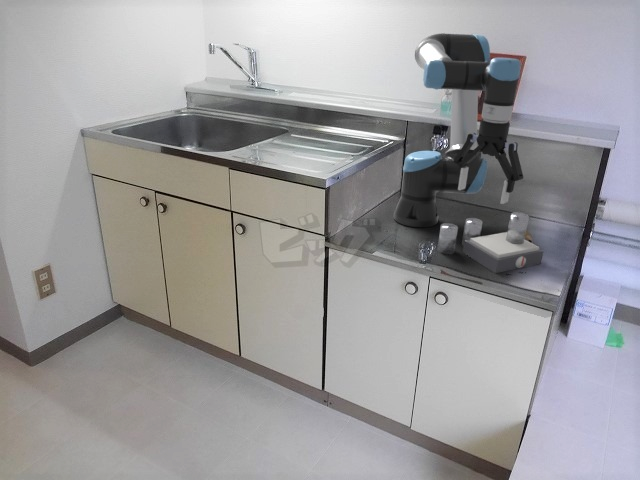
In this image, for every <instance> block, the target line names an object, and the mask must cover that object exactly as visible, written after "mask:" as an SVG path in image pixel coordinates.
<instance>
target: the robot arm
mask: <svg viewBox="0 0 640 480" xmlns="http://www.w3.org/2000/svg"><path fill="white" fill-rule="evenodd" d="M490 58H491V50H490V43H489V40H488V38H486V36H484V35H481V34H476V33H475V34H474V33H471V34H462V33H461V34H459V33H445V32H444V33H434V34H432V35H429V36H427V37H425V38H423V39H422V40H421V41H419V42H418V45H416V48H415V50H414V59H415V63H416V64H417V65H418V67H419V68H421V69H423V79H422V81H423V86H424V87H425V88H427V89H434V90H451V104H450V105H451V106H450V107H451V109H450V111H451V112H450V139H449V140H450V141H449V142H450V143H449V145H450V146H449V149H448V150H446V151H445V154H444V155H445V156H442V154H441V152H439V151H434V150H433V151H432V150H419V151H415V152H411V153H409V154H408V155H407V156H406V157H405V159H404V164H403V167H402V170H403V172H402V173H403V175H402V183H401V191H400V197H399V200H398V202H397V204H396V208H395V209H394V211H393V219H394V221H396V222H397V223H399V224H401V225H403V226H408V227H412V228H429V227H434V226H436V225H437V224H438V222H439V211H438V207H437V201H436V198H437V193H448V194H449V193H450V194H464V195H467V194H477V193H479V192H480V191H481V189H483V187H484V183H485V180H486V177H487V173H488V172H487V171H488V161H487V159H486V158H484V157H483V158H482V155H488V156H490V157H495V159H496V160H497V161H498V164H499V166H500V167H501V170H502V171H503V173H504V175H505V177H506V179H505V180H504V181H503V187H502V190H501V191H502V192H501V198H500V205H501V204H502V205H504V204H506V203H509V198H510V193H512V192H513V191H514V188H515V183H516V182H519V181H521V180H523V179H524V174H523V169H522V165H521V161H520V158H519V154H518V145H519V144H518V142H516V141H515V142H508V140H507V139H508V136H509V132H510V126H511V123H510V121H511V120H512V115H513V109H514V105H515V104H514V103H515V101H516V100H515V99H516V94H517V90H518V88H517V87H518V84H519V79H520V76H521V67H522V65H521V64H522V63H521V60H519V59H518V58H513V57H512V58H511V57H494V58H492V59H491V60H490ZM479 91H482V92H483V91H485V92H484V97H483V98H484V99H483V104H482V111H481V120H480V122H479V126H478V115H479V113H478V107H479V105H478V103H479ZM478 127H479V128H478ZM505 149H506V151H507V152H508V157H509V158H508V157H507V152H506V151H505Z"/></svg>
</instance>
